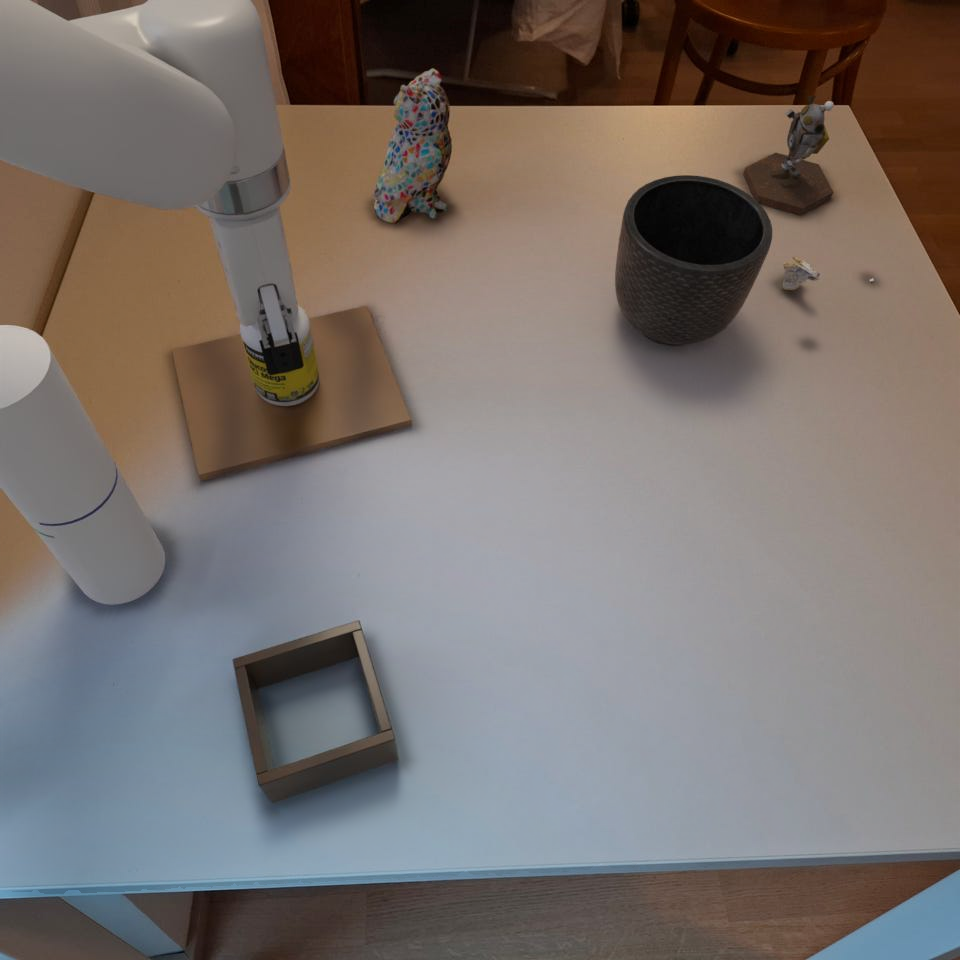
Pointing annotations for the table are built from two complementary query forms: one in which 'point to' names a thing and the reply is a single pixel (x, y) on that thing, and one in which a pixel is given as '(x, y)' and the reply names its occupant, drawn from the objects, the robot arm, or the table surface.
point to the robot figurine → (794, 165)
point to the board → (288, 429)
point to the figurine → (416, 151)
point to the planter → (688, 257)
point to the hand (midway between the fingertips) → (277, 341)
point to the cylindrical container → (69, 477)
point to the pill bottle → (288, 384)
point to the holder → (296, 662)
